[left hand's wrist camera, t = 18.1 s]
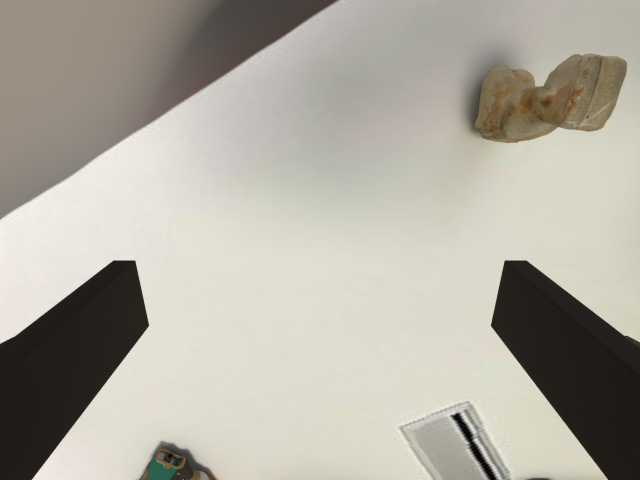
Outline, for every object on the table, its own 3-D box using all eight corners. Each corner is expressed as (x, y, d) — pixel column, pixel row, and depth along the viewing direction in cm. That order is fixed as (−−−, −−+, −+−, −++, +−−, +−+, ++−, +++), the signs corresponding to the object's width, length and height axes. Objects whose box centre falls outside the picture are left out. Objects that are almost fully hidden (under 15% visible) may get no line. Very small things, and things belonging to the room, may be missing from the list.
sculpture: (532, 74, 37) (660, 57, 23) (507, 143, 40) (608, 165, 26) (479, 63, 37) (577, 39, 23) (457, 133, 39) (533, 150, 25)
